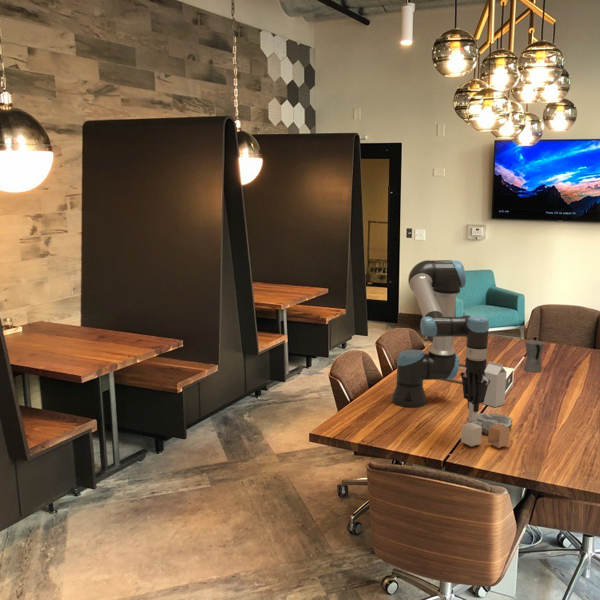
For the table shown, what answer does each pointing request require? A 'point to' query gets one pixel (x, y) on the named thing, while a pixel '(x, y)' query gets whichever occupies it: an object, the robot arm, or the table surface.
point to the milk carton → (495, 384)
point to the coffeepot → (533, 355)
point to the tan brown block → (498, 435)
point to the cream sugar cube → (471, 434)
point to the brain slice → (491, 421)
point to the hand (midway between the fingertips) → (472, 418)
